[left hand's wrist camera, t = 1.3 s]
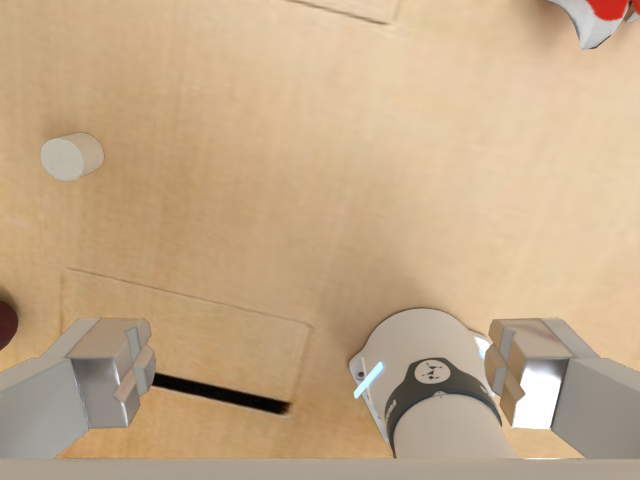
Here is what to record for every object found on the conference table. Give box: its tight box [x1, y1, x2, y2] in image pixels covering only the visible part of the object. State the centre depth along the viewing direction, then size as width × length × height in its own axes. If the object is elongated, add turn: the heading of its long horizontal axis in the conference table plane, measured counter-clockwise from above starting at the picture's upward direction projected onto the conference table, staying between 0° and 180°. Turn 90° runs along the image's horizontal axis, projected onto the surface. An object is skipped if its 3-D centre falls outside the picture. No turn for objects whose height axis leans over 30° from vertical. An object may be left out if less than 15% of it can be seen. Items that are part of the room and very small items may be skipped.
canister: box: [40, 133, 104, 181], centre depth 46 cm, size 4×4×4 cm
